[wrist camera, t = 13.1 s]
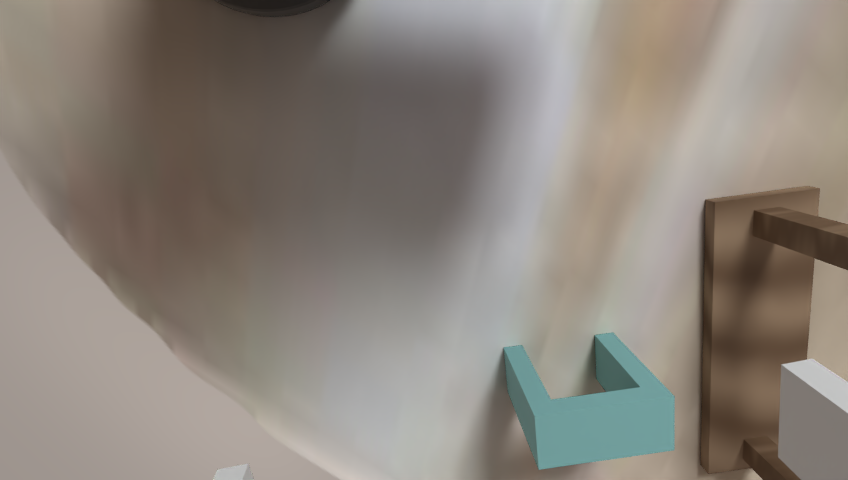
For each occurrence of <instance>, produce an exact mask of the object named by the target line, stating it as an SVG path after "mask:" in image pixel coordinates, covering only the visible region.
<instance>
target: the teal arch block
mask: <svg viewBox="0 0 848 480" xmlns="http://www.w3.org/2000/svg"><path fill="white" fill-rule="evenodd" d="M595 355H596V379H597V380H598V382H599V383H600V384H601V386H602V387H603V388H604V390H605V391H606V392H602V393H595V394H588V395H581V396H574V397H567V398H560V399H553V400H551V399H550V397H549V395H548V393H547V391H546V389H545V388H544V386H543V384H542V382H541V380H540V378H539V376H538V374H537V373H536V371H535V369H534V367H533V365H532V363H531V361H530V359H529V358H528V356H527V354H526V352H525V350H524V348H523V346H522V345H519V346H512V347H505V348H504V357H505V368H506V379H507V390H508V394H509V396H510V399H511V401H512V404H513V406H514V409H515V411H516V414H517V416H518V419H519V421H520V424H521V426H522V429H523V431H524V434H525V436H526V439H527V441H528V444H529V447H530V449H531V452H532V454H533V457H534V459H535V462H536V464H537V467H538V469H539V470H540V469H547V468H554V467H561V466H568V465H575V464H582V463H589V462H596V461H603V460H610V459H617V458H624V457H631V456H638V455H644V454H651V453H658V452H665V451H672V450H674V399H675V396H674V395H673V394H672V393H671V392H670V391H669V390H668V389H667V388H666V387H665V386H664V385H663V384H662V383H661V382H660V381H659V380H658V379H657V378H656V377H655V376H654V375H653V374H652V373H651V372H650V370H649V369H648V368H647V367H646V366H645V365H644V364H643V363H642V362H641V361H640V360H639V359H638V358H637V357H636V356H635V355H634V354H633V353H632V352H631V351H630V350H629V349H628V348H627V347H626V346H625V345H624V344H623V343H622V342H621V340H620V339H619V338H618V337H617V336H616V335H615V334H614V333H606V334H599V335H595Z"/></svg>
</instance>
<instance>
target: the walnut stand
mask: <svg viewBox="0 0 848 480" xmlns="http://www.w3.org/2000/svg"><path fill="white" fill-rule="evenodd" d="M819 194H820V188H815V187H810V186H804V187H797V188H789V189H782V190H774V191H767V192H759V193H752V194H744V195H737V196H729V197H722V198H714V199H707V200H706V206H705V259H704V311H703V364H702V416H701V466H702V467H703V468H704V469H705V470H706V472H707V473H708V474H712V473H719V472H725V471H732V470H739V469H746V468H752V469H753V470H754V471H755V472H756V473H757V474H758V475H759V476H760V477H761V478H762V479H763V480H801V479H800V478H799V477H798V476H797V475H796V474H795V473H794V472H793V471H792V470H791V469H790V468H789V467H788V466H787V465H786V464H785V463H784V462H782V461H781V460H780V459H779V458H778V443H779V414H780V385H781V364H786V363H792V362H797V361H803V360H807V349H808V336H809V323H810V310H811V297H812V284H813V271H814V258H815V259H818V260H821V261H824V262H827V263H829V264H832V265H835V266H838V267H840V268H843V269H846V270H848V224H844V223H841V222H837V221H833V220H829V219H825V218H821V217H818V206H819Z"/></svg>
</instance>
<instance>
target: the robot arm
mask: <svg viewBox="0 0 848 480" xmlns="http://www.w3.org/2000/svg"><path fill="white" fill-rule="evenodd" d="M215 1H217V2H219V3H221V4H223V5H225V6H227V7H229V8H232V9H234V10H237V11H240V12H244V13H248V14H252V15H258V16H268V17H279V16H289V15H295V14H299V13H303V12H306V11H309V10H312V9H314V8H317V7H319V6H321V5H323V4H324V3H326V2H328V1H330V0H215ZM778 458H779V459H780V460H781V461H782V462H784V463H785V464H786V465H787V466H788V467H789V468H790V469H791V470H792V471H793V472H794V473H795V474H796V475H797V476H798V477H799V478H800V479H801V480H848V382H847V381H845V380H844V379H842V378H841V377H839V376H838V375H836V374H835V373H833V372H832V371H830V370H829V369H827V368H826V367H824V366H823V365H821V364H820V363H818V362H817V361H815V360H814V359H808V360H803V361H797V362H792V363H786V364H781V385H780V414H779V443H778ZM213 480H254V478H253V475H252V472H251V470H250V467H249V464H244V465H238V466H233V467H228V468H222V469H218V470H217V472H216V474H215V476H214V478H213Z"/></svg>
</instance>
